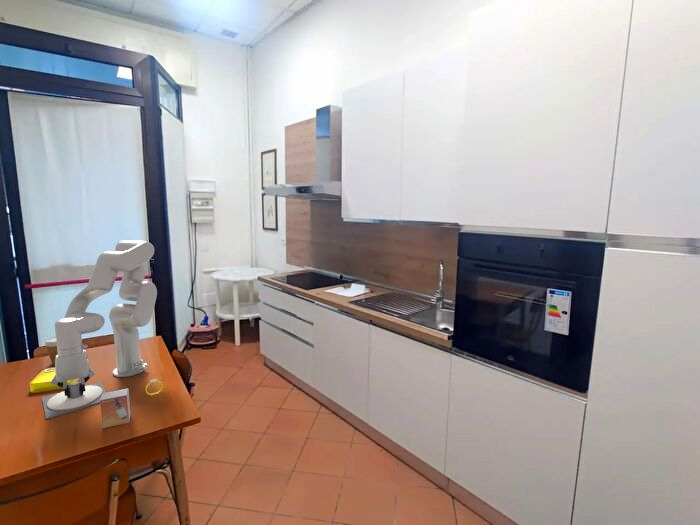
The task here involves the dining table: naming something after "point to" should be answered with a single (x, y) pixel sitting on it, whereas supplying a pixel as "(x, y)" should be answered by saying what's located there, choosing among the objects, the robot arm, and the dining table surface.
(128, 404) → the small box
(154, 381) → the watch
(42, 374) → the element tile
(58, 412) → the mat
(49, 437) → the dining table surface
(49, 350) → the disposable coffee cup
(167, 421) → the dining table surface
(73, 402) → the lid
